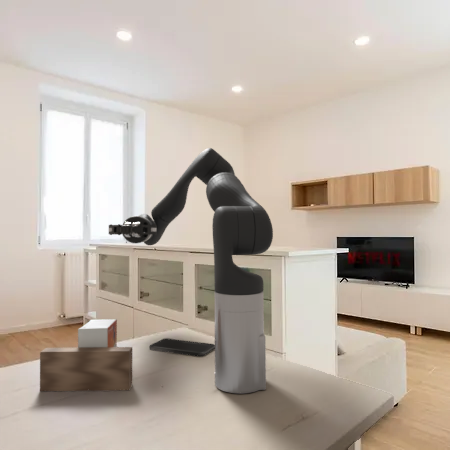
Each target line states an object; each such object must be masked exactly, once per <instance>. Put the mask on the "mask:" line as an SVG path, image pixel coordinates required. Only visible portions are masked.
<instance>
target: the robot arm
mask: <svg viewBox="0 0 450 450" xmlns="http://www.w3.org/2000/svg"><path fill="white" fill-rule="evenodd" d="M195 178H197V179H199V180H200V181H201V182H202V183H203V184H204V185H206V189H205V194H206V199H207V201H208V204H209V207H210V208H211V210H212V211H213V212H214V213H213V215H212V216H213V217H212V227H211V228H212V245H213V260H214V261H213V262H214V263H213V267H214V269H213V270H214V275H213V276H214V291H213V292H214V345H215V349H214V386H215V387H216V388H217V389H219V390H221V391H223V392H227V393H230V394H231V393H232V394H249V393H255V392H257V391H261V390H263V391H264V390H265V391H266V389H267V379H266V377H267V369H266V368H267V365H266V361H267V359H266V356H267V355H266V351H267V350H266V347H267V346H266V335H265V331H264V330H265V318H264V317H265V315H264V312H265V311H264V307H265V306H264V304H265V303H264V299H265V298H264V296H265V295H264V279H263V277H262V276H261V275H259V274H256V273H254V272H252V271H251V272H250V271H247V270H245V269H243V268H241V267H240V266H238V265H236V263H235V261H234V260H233V256H250V255H251V256H253V255H255V256H256V255H260V254H263V253H266V252H267V251H268V250H269V249H270V247H271V245H272V243H273V238H274V236H273V235H274V230H273V224H272V221H271V218H270V216H269V214H268V212H267V211H266V209H265V208H264V207H263V206H262V205H260V203H258V202H257V200H255V199H254V198H253V197H252V196H251V195H250V193H249V192H248V191H247V189H246V188H245V186H244V184H243V183H242V181H241V180H240V179H239V178H238V177H237V176H236V174H235V169H234V167H233V166H232V165H231V164H230V162H229V161H228V160H226V158H224V157H223V156H222V155H221V154H220V153H218V152H217V151H216V150H215V149H214V148H211V147H207V148H205V149H204V150H202V151H201V152H200V153H199V154H198V155H197V156H196V157H195V158H194V160H193V161H192V162H191V164H189V166H188V167H187V168H186V170H185V171H184V172H183V173H182V175H180V177H179V179H178V180H177V181H176V182H175V184H174V185H173V186H172V188H171V189H170V190H169V192H168V193H167V194H166V195H165V196H164V197H163V198H162V199H161V200H160V201H159V202H158V203H157V204H156V205H155V206H153V208H152V210H151V211H150V214H151V215H148V213H141V214H139V215H133V216H130V217H128V218H126V219H125V221H123V224H121V223H120V224H108V235H109V236H112V235H118V236H121V235H122V236H123V238H124V240H126V241H127V242H129V243H132V244H141V243H143V244H144V245H147V246H153V245H156V244H157V243H158V242H160V240H161V239H162V236H163V235H164V233H165V231H166V230H167V228H168V226H169V225H170V224H171V223H172V222H173V221H174V220H176V219H177V217H178V216H179V215H180V214H181V213H182V212H183V210H184V209H185V206H186V204H187V199H188V198H187V197H188V193H189V189H190V188H189V187H190V184H191V183H192V181H193V180H194V179H195Z"/></svg>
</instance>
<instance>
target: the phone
mask: <svg viewBox="0 0 450 450" xmlns="http://www.w3.org/2000/svg"><path fill="white" fill-rule="evenodd" d="M148 349H149V350H150V351H154V352H155V351H156V352H164V353H170V354H171V353H172V354H177V355H184V356H192V357H205V356H206V355H209V353H211V352H212V351H215V343H209V342H208V343H206V342H199V341H193V340H184V339H175V338H168V337H167V338H162V339H160V340H158V341H156V342H153V343H151V344H149V348H148Z"/></svg>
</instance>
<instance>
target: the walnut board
mask: <svg viewBox="0 0 450 450" xmlns="http://www.w3.org/2000/svg"><path fill="white" fill-rule="evenodd" d="M132 386H133V346H119V347H118V346H117V347H81V348H78V347H45V348H44V349H42V350H41V351H40V352H39V392H77V391H78V392H79V391H80V392H82V391H83V392H85V391H86V392H93V391H94V392H95V391H96V392H98V391H99V392H100V391H101V392H102V391H107V392H108V391H111V392H112V391H130V390H131V388H132Z"/></svg>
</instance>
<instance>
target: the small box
mask: <svg viewBox="0 0 450 450" xmlns="http://www.w3.org/2000/svg"><path fill="white" fill-rule="evenodd" d="M117 321H118V319H117V318H115V319H113V318H110V319H109V318H108V319H107V318H104V319H90V320H89V321H88V322H86V323H85V324H84V325H83V326H81V327H79V328H78V329H77V348H81V347H118V346H117V341H118V338H117V337H118V336H117V335H118V334H117V333H118V331H117V330H118V328H117V327H118V323H117Z"/></svg>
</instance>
